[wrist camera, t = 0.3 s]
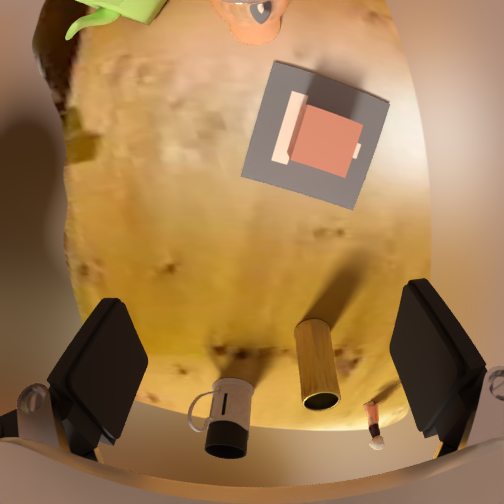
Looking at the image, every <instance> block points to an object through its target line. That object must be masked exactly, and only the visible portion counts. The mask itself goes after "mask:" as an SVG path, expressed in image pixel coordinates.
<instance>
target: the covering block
mask: <svg viewBox="0 0 504 504" xmlns="http://www.w3.org/2000/svg"><path fill="white" fill-rule="evenodd" d="M362 127H363V125H362V124H360V123H357V122H355V121H352V120H350V119H347V118H344V117H342V116H339V115H337V114H334V113H331V112H328V111H326V110H323V109H320V108H317V107H314V106H311V105H308V104H307V105H303V106H301V107H300V110H299V114H298V117H297V120H296V123H295V127H294V130H293V133H292V137H291V140H290V143H289V146H288V150H287V154H288V156H289V158H290V160H292V161H295V162H299V163H302V164H305V165H308V166H311V167H314V168H317V169H320V170H323V171H326V172H329V173H332V174H335V175H338V176H341V177H344V178H345V177H346V174H347V171H348V169H349V166H350V163H351V160H352V157H353V154H354V151H355V148H356V146H357V143H358V140H359V137H360V134H361V131H362Z"/></svg>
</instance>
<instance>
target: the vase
mask: <svg viewBox="0 0 504 504" xmlns="http://www.w3.org/2000/svg"><path fill="white" fill-rule="evenodd" d="M294 338H295V341H296V351H297V358H298V366H299V374H300V383H301V397H302V405H303V407H304V408H305V409H307V410H309V411H315V412H320V411H326V410H329V409H332V408H334V407H335V406H336V405H338V404H339V402H340V400H341V395H340V390H339V385H338V379H337V374H336V369H335V364H334V357H333V349H332V341H331V335H330V327H329V325H328V324H327V323H326V322H324V321H322V320H319V319H309V320H306V321H304V322H302V323H300V324H299V325H298V326H297V327H296V329H295V331H294Z"/></svg>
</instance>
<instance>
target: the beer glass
mask: <svg viewBox="0 0 504 504" xmlns="http://www.w3.org/2000/svg"><path fill="white" fill-rule="evenodd" d="M209 2H210V4H211V6H212V7H213V9H214V10H215V12H216V13H217V14H218V15H219V16H220V17H221V18H222V19H223V20H224V21H226V22H227V23H229V29H230V31H231V33H232V35H233V36H234V37H235V38H236V39H237V40H238V41H240V42H242V43H244V44H247V45H262V44H265V43H268V42H270V41H271V40H273V39H274V38H275V37H276V36H277V34H278V33H279V30H280V26H281V23H280V17H281V16H282V14H283V13H284V11H285V9H286V8H287V5H288V2H289V0H209Z"/></svg>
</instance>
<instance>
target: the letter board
mask: <svg viewBox="0 0 504 504" xmlns="http://www.w3.org/2000/svg"><path fill="white" fill-rule="evenodd" d="M307 104H308V105H311V106H314V107H317V108H320V109H323V110H326V111H328V112H331V113H334V114H337V115H339V116H342V117H344V118H347V119H350V120H352V121H355V122H357V123H360V124H362V125H363V127H362V131H361V134H360V137H359V140H358V143H357V146H356V148H355V151H354V154H353V157H352V160H351V163H350V166H349V169H348V171H347V174H346V177H345V178H344V177H341V176H338V175H335V174H332V173H329V172H326V171H323V170H320V169H317V168H314V167H311V166H308V165H305V164H302V163H299V162H295V161H292V160H290V158H289V156H288V154H287V150H288V146H289V143H290V140H291V137H292V133H293V130H294V127H295V123H296V120H297V117H298V114H299V110H300V107H301V106H303V105H307ZM389 106H390V104H388V103H386V102H384V101H382V100H380V99H378V98H375V97H373V96H371V95H369V94H366V93H364V92H362V91H359V90H357V89H354V88H352V87H350V86H347V85H344V84H342V83H339V82H337V81H334V80H331V79H328V78H326V77H323V76H320V75H317V74H314V73H311V72H308V71H305V70H302V69H298V68H295V67H292V66H288V65H285V64H281V63H277V62H274V63H273V66H272V69H271V72H270V76H269V79H268V82H267V86H266V89H265V93H264V96H263V99H262V103H261V106H260V110H259V113H258V117H257V120H256V124H255V127H254V131H253V134H252V138H251V141H250V145H249V149H248V152H247V156H246V159H245V163H244V167H243V170H242V174H241V177H244V178H248V179H252V180H255V181H259V182H263V183H266V184H270V185H273V186H277V187H280V188H284V189H287V190H291V191H294V192H297V193H301V194H304V195H307V196H310V197H314V198H317V199H320V200H323V201H326V202H329V203H332V204H335V205H338V206H341V207H344V208H347V209H350V210H353V208H354V206H355V203H356V201H357V198H358V195H359V193H360V190H361V188H362V185H363V182H364V180H365V177H366V174H367V171H368V169H369V166H370V163H371V160H372V158H373V155H374V152H375V149H376V146H377V143H378V140H379V137H380V134H381V131H382V128H383V125H384V122H385V119H386V115H387V112H388V109H389Z"/></svg>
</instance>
